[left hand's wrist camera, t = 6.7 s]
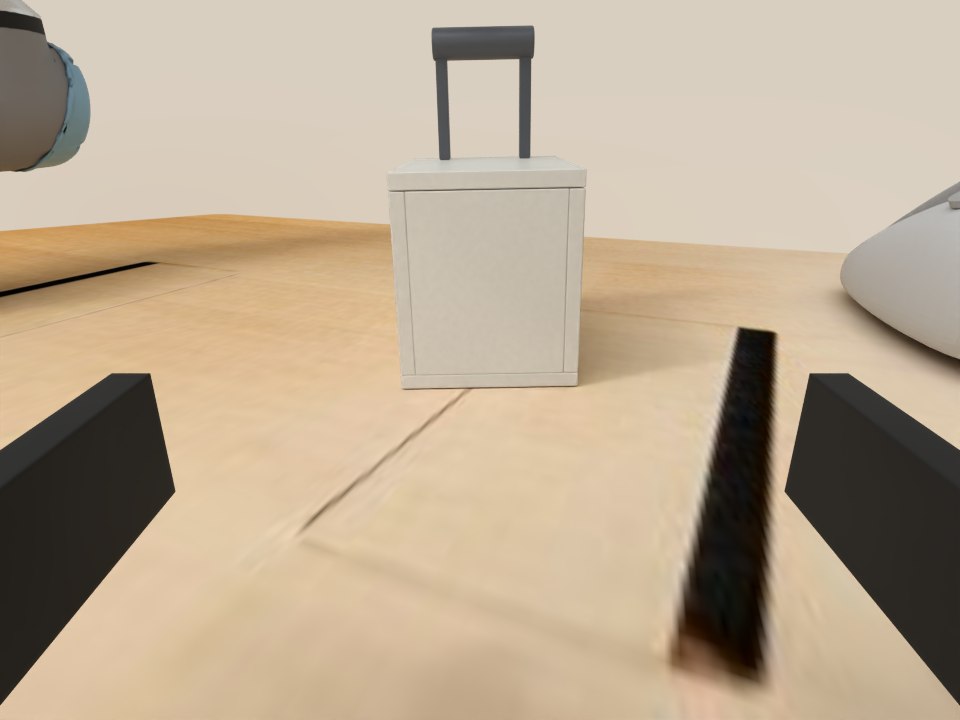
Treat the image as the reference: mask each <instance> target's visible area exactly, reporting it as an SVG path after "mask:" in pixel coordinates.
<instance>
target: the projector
mask: <svg viewBox="0 0 960 720" xmlns="http://www.w3.org/2000/svg"><path fill="white" fill-rule="evenodd" d="M840 279H841V283H842V285H843V287H844V288H845V290H846V291H847V292H848V293H849V294H850V295H851V297H852V298H853V299H854V300H855V301H857V302H858V303H859V304H860V305H861V306H862V307H864V308H865V309H866V310H868V311H869V312H870V313H871V314H873V315H874V316H876V317H877V318H879V319H880V320H882V321H883V322H885V323H887V324H888V325H890V326H892V327H893V328H895V329H897V330H898V331H900V332H902V333H903V334H905V335H907V336H909V337H911V338H913V339H915V340H917V341H919V342H921V343H923V344H925V345H926V346H928V347H930V348H933V349H935V350H937V351H939V352H942V353H944V354H947V355H949V356H952V357H955V358H957V359H960V182H958V183H957V184H955V185H953V186H952V187H950V188H948V189H946V190H945V191H943V192H941V193H940V194H938V195H936V196H935V197H933V198H931V199H930V200H928V201H927V202H925V203H923V204H922V205H920V206H919V207H917V208H916V209H914V210H913V211H911V212H910V213H908V214H906V215H905V216H903V217H902V218H900V219H899V220H898V221H896V222H895V223H893V224H892V225H890V226H889V227H887V228H886V229H884V230H883V231H881V232H879V233H877V234H876V235H874V236H873V237H871V238H869V239H868V240H866V241H865V242H863V243H862V244H860V245H859V246H858V247H856V248H855V249H854V250H853V251H852V252H851V253H850V254H849V255H848V256H847V257H846V259H845V261H844V263H843V265H842V268H841V274H840Z"/></svg>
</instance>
